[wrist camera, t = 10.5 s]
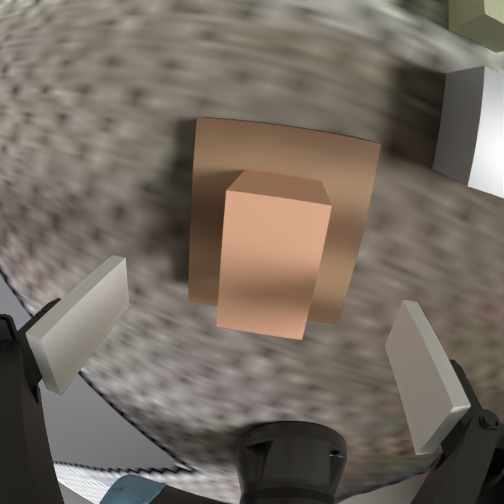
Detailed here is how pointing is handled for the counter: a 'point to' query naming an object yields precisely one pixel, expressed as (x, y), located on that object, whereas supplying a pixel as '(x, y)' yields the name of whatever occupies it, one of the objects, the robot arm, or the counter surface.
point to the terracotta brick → (271, 252)
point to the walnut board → (284, 163)
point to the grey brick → (473, 130)
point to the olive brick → (478, 21)
